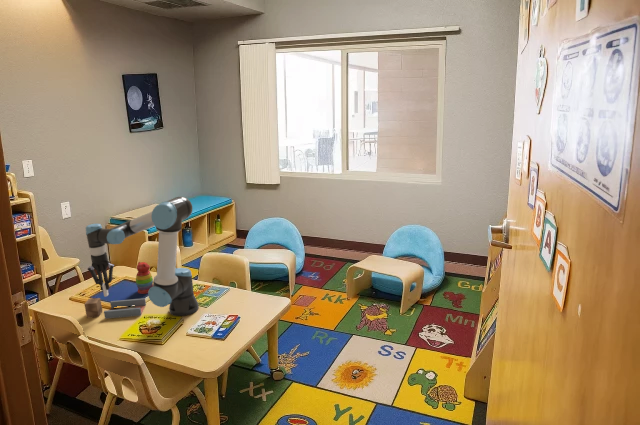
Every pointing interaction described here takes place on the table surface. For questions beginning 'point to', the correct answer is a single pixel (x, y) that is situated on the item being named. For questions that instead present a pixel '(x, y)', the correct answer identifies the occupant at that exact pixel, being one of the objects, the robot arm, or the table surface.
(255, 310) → the table surface
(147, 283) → the stacking bear
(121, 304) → the trap trough
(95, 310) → the walnut block
